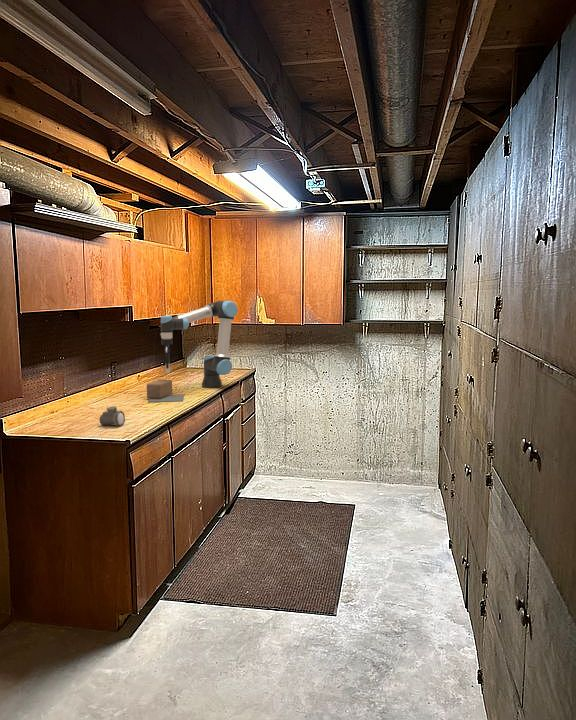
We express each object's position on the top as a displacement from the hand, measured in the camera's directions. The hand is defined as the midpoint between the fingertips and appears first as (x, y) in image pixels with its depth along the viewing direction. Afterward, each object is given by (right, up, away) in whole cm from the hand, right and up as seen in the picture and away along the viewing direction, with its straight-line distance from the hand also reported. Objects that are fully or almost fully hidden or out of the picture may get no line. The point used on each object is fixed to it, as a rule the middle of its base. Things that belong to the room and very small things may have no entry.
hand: (167, 372), depth 378 cm
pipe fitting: (-10, -26, -87) cm, 91 cm away
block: (-2, -9, +3) cm, 10 cm away
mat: (+2, -17, -12) cm, 21 cm away
